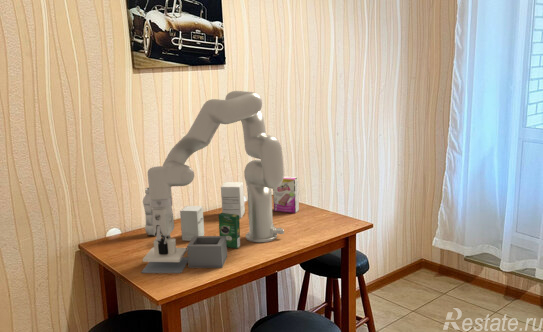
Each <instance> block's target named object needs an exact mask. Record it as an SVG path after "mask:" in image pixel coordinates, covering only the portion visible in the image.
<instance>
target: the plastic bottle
mask: <svg viewBox="0 0 543 332" xmlns="http://www.w3.org/2000/svg"><path fill="white" fill-rule="evenodd" d="M142 204H143V205H142V206H143V208H144V214H145V225H144V226H145V228H144V230H145V233H146V235H148V236H154V232H153V209H152V208H150V196H149V187H145V188H144V197H143V199H142Z"/></svg>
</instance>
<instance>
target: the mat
mask: <svg viewBox="0 0 543 332" xmlns="http://www.w3.org/2000/svg"><path fill="white" fill-rule="evenodd" d="M186 265H188V256H183V257H182V259H181V260H180V262H147V264H146V265H145V266H144V268H143V269H142V270H141V274H182V272H183V271H184V269H185V268H186Z"/></svg>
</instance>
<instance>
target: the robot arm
mask: <svg viewBox="0 0 543 332" xmlns="http://www.w3.org/2000/svg"><path fill="white" fill-rule="evenodd" d="M262 108H263V100H262V98H261V96H260V95H259V94H258V93H256V92H253V91H244V90H234V91H230V92H228V93H227V94H226V95H225V99H215V98H214V99H212V98H211V99H208V100H206V101H205V102H204V104H203V105H202V107H201V108H200V111H199V112H198V114H197V115H196V117H195V119H194V121H193V123H192V125H191V126H190V128H189V130H188V132H187V133H186V134H185V135H184V136H183V137H182V138H181V139H180V140H179V141H178V142H176V144H174V146H173V147H172V148H171V150H170V151H169V153H168V154H167V156H166V158H165V160H164V162H163V164H162V166H161V165H160V166H159V165H158V166H152V167H150V168H149V169H148V170H147V183H148V188H149V196H150V208H152V209H153V232H154V235H153V236H155V239H156V241H158V249H159V254H160V255H167V254H168V244H167V243H166V238H171V234H172V232H173V231H174V229H175V218H174V212H173V195H172V188H173V187H185V186H188V185H190V184H191V183H192V182H193V181H194V179H195V172H194V171H195V170H193V168H192V167H191V166H189V165H187V164H185V163H186V162H187V160H188V159H189V158H190V157H191V156H192V155H193V154H195V153H196V152H197V151H200V150H202V149H204V148H206V147H207V146H209V145H210V143H211V142H212V140H213V138H214V136H215V134H216V133H217V130H218V128H219V127H220V124H221V125H230V124H234V123H237V122H240V123H241V126H242V131H243V140H244V142H243V143H244V150H245V152H246V154H247V156H248V157H250V158H253V159H254V160H250V161H249V162H248V163H247V164H246V165H245V167H244V171H243V172H244V173H243V174H244V175H243V176H244V181H245V185H246V189H247V191H246V192H247V207H248V208H247V209H248V228H249V229H248V232H246V234H245V239H246V240H247V241H248V242H252V243H267V242H272V241H274V240H275V239H277V237H278V235H279V234H280V235H284V234H285V230H284V228H282V227H275V224H274V223H273V222H274V221H273V193H272V190H273V189H274V188H277V187H279V186H280V185H281V183H282V181H283V177H284V176H285V175H284V173H285V171H284V161H283V159H284V157H283V149H282V144H281V143H280V141H279V140H278V139H277V138H276V137H275V136H273V135H269V134H267V133H266V132H267V131H266V125H265V120H264V119H265V118H264V116H263V113H262V111H261V110H262ZM271 189H272V190H271ZM163 238H164V239H163Z"/></svg>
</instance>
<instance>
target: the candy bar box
mask: <svg viewBox="0 0 543 332" xmlns="http://www.w3.org/2000/svg"><path fill="white" fill-rule="evenodd" d="M272 192H273V193H272V199H273V211H274V212H280V213H290V214H297V213H298V212H299V210H300V201H299V198H300V197H299V196H300V195H299V193H300V189H299V176H290V175H289V176H285V175H284V177H283V181H282V183H281V185H280V186H279V187H277V188H274V189H272Z"/></svg>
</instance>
